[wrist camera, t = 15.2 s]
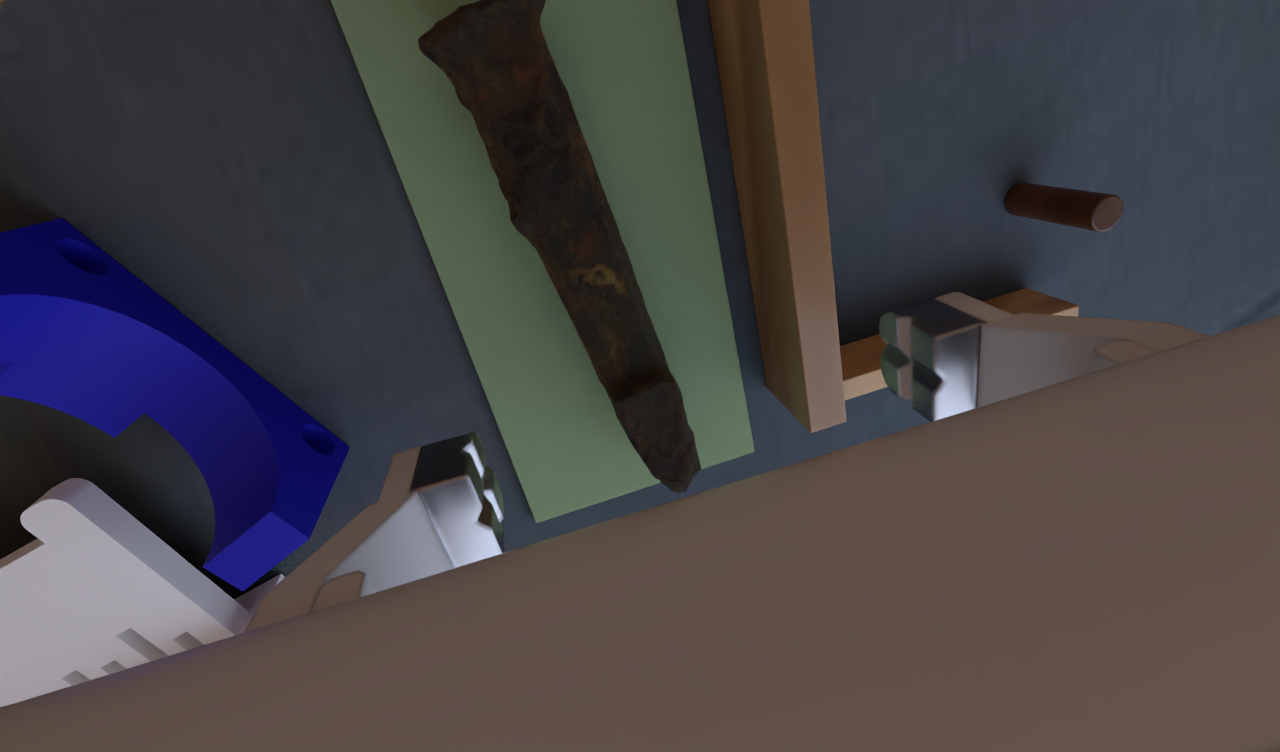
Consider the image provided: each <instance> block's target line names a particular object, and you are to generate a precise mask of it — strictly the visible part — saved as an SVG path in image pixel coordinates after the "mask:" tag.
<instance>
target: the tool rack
mask: <svg viewBox="0 0 1280 752" xmlns="http://www.w3.org/2000/svg"><path fill="white" fill-rule="evenodd" d="M708 6H709V13H710V19H711V26H712V32H713V39H714V45H715V52H716V58H717V65H718V71H719V78H720V84H721V91H722V97H723V104H724V110H725V117H726V123H727V130H728V136H729V143H730V149H731V156H732V162H733V169H734V175H735V182H736V189H737V195H738V202H739V208H740V215H741V221H742V228H743V234H744V241H745V247H746V254H747V260H748V267H749V273H750V280H751V286H752V293H753V299H754V306H755V312H756V319H757V325H758V332H759V338H760V345H761V351H762V358H763V364H764V371H765V377H766V384H767V388H768V389H769V390H770V391H771V392H772V393H773V394H774V395H775V396H776V397H777V398H778V400H779V401H780V402H781V403H782V404H783V405H784V406H785V407H786V408H787V409H788V410H789V411H790V412H791V413H792V414H793V415H794V416H795V417H796V418H797V419H798V420H799V421H800V422H801V423H802V424H803V425H804V426H805V427H806V428H807V429H808V430H809V431H810V432H811V433H813V432H816V431H819V430H822V429H825V428H828V427H832V426H835V425H838V424H841V423H844V422H846V411H845V400H848V399H851V398H854V397H857V396H860V395H863V394H866V393H869V392H872V391H876V390H879V389H882V388H885V387H888V386H887V385H886V383H885V380H884V377H883V375H882V372H881V361H880V356H881V354H882V352H883V350H884V349H885V347H886V345H887V344H886V343H885V342H884V341H883V339H882V338H881V337H880V336H879V334H877V335H874V336H871V337H868V338H865V339H862V340H858V341H855V342H852V343H849V344H846V345H842V346H840V344H839V333H838V321H837V310H836V299H835V288H834V277H833V265H832V254H831V243H830V232H829V221H828V209H827V198H826V187H825V176H824V165H823V153H822V142H821V131H820V120H819V109H818V97H817V86H816V75H815V64H814V53H813V41H812V30H811V19H810V8H809V0H708ZM1005 207H1006V209H1007V211H1008V212H1009V213H1010V214H1013V215H1017V216H1022V217H1027V218H1032V219H1037V220H1042V221H1047V222H1052V223H1057V224H1062V225H1067V226H1072V227H1077V228H1082V229H1087V230H1092V231H1097V232H1103V231H1107V230H1109V229H1111V228H1112V227H1113V226H1114V225H1115V224H1116V223H1117V222H1118V221H1119V219H1120V217H1121V215H1122V212H1123V202H1122V200H1121V199H1120V198H1119V197H1118V196H1116V195H1111V194H1103V193H1096V192H1089V191H1081V190H1074V189H1067V188H1059V187H1052V186H1044V185H1037V184H1030V183H1020V184H1017V185H1015V186H1014V187H1013V188H1012V189H1011V190H1010V191H1009V193H1008V194H1007V197H1006V200H1005ZM983 302H984V303H987V304H989V305H991V306H994V307H996V308H999V309H1001V310H1003V311H1006V312H1008V313H1011V314H1013V315H1016V314H1019V313H1031V314H1046V315H1061V316H1076V317H1078V310H1079V306H1078V305H1076V304H1073V303H1070V302H1067V301H1064V300H1061V299H1058V298H1055V297H1052V296H1049V295H1046V294H1043V293H1040V292H1037V291H1034V290H1031V289H1028V288H1024V289H1021V290H1018V291H1015V292H1011V293H1008V294H1005V295H1002V296H999V297H996V298H992V299H989V300H986V301H983Z"/></svg>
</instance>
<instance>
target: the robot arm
mask: <svg viewBox="0 0 1280 752" xmlns="http://www.w3.org/2000/svg"><path fill="white" fill-rule="evenodd" d="M879 336H880V337H881V338H882V339H883V341H884V342H885V343H886V344H887V345H886V347H885V349H884V350H883V352H882V354H881V356H880V361H881V372H882V375H883V377H884V380H885V383H886V385H887V386H888V387H889V389H890V390H891V391H892V392H893V393H894V394H895V395H896V396H898V397H899V398H902V399H906V400H911V401H913V409H914V410H916V411H917V412H918V413H920V414H921V415H922V416H924V417H925V418H926V419H928V420H929V421H930V422H929V423H926V424H923V425H920V426H916V427H913V428H910V429H907V430H903V431H900V432H897V433H894V434H890V435H887V436H884V437H881V438H877V439H874V440H871V441H868V442H864V443H861V444H858V445H855V446H851V447H848V448H845V449H842V450H838V451H835V452H832V453H828V454H825V455H822V456H819V457H815V458H812V459H809V460H806V461H802V462H799V463H796V464H793V465H789V466H786V467H783V468H779V469H776V470H773V471H770V472H766V473H763V474H760V475H757V476H753V477H750V478H747V479H744V480H740V481H737V482H734V483H731V484H727V485H724V486H721V487H717V488H714V489H711V490H708V491H704V492H701V493H698V494H695V495H691V496H688V497H685V498H682V499H678V500H675V501H672V502H668V503H665V504H662V505H659V506H655V507H652V508H649V509H646V510H642V511H639V512H636V513H633V514H629V515H626V516H623V517H619V518H616V519H613V520H610V521H606V522H603V523H600V524H597V525H593V526H590V527H587V528H584V529H580V530H577V531H574V532H570V533H567V534H564V535H561V536H557V537H554V538H551V539H548V540H544V541H541V542H538V543H535V544H531V545H528V546H525V547H521V548H518V549H515V550H512V551H508V552H505V553H503V550H504V532H503V530H502V527H501V525H500V522H501V521H502V519H503V518H504V505H503V499H502V493H501V490H500V487H499V483H498V480H497V478H496V475H495V473H494V470H492V469H490V468H489V467H487V466H485V460H486V450H485V448H484V446H483V443H482V441H481V439H480V436H479V435H478V434H477V433H476V432H472V433H468V434H465V435H461V436H457V437H453V438H450V439H446V440H442V441H439V442H435V443H431V444H428V445H424V446H418V447H415V448H412V449H409V450H406V451H403V452H400V453H397V454H394V455H393V457H392V460H391V463H390V466H389V469H388V472H387V475H386V478H385V481H384V484H383V487H382V490H381V493H380V496H379V499H378V502H377V503H375V504H371V505H369V506H368V507H366V508H365V509H364V510H363V511H362V512H361V513H359V514H358V515H357V516H356V517H355V518H354V519H352V520H351V521H350V522H349V523H348V524H347V525H345V526H344V527H343V528H342V529H341V530H340V531H339V532H337V533H336V534H335V535H334V536H333V537H332V538H330V539H329V540H328V541H327V542H326V543H325V544H323V545H322V546H321V547H320V548H319V549H318V550H316V551H315V552H314V553H313V554H312V555H311V556H309V557H308V558H307V559H306V560H305V561H304V562H302V563H301V564H300V565H299V566H298V567H297V568H296V569H294V570H293V571H292V572H291V573H290V574H289V575H287V576H286V577H285V578H284V579H283V580H282V581H280V582H279V583H278V584H277V585H276V586H275V587H273V588H272V589H271V590H270V591H269V592H268V593H266V594H265V595H264V596H263V597H262V598H261V600H260V602H259V604H258V606H257V608H256V610H255V612H254V614H253V616H252V618H251V620H250V622H249V624H248V625H247V627H246V629H245V631H244V633H242V634H239V635H235V636H232V637H229V638H226V639H222V640H219V641H216V642H213V643H209V644H206V645H203V646H200V647H196V648H193V649H190V650H187V651H183V652H180V653H177V654H174V655H170V656H167V657H164V658H160V659H157V660H154V661H151V662H147V663H144V664H141V665H138V666H134V667H131V668H128V669H125V670H121V671H118V672H115V673H112V674H108V675H105V676H102V677H99V678H95V679H92V680H89V681H86V682H82V683H79V684H76V685H73V686H69V687H66V688H63V689H59V690H56V691H53V692H50V693H46V694H43V695H40V696H37V697H33V698H30V699H27V700H24V701H20V702H17V703H14V704H10V705H6V706H3V707H0V752H1280V315H1277V316H1274V317H1271V318H1268V319H1264V320H1261V321H1258V322H1255V323H1251V324H1248V325H1245V326H1242V327H1238V328H1235V329H1232V330H1229V331H1225V332H1222V333H1219V334H1216V335H1212V336H1209V335H1206V334H1203V333H1200V332H1197V331H1194V330H1191V329H1188V328H1185V327H1182V326H1179V325H1176V324H1173V323H1166V322H1151V321H1136V320H1121V319H1106V318H1091V317H1076V316H1061V315H1046V314H1031V313H1019V314H1016V315H1013V314H1011V313H1008V312H1006V311H1003V310H1001V309H999V308H996V307H994V306H991V305H989V304H987V303H984V302H982V301H980V300H977V299H975V298H972V297H970V296H968V295H965V294H963V293H960V292H951V293H948V294H945V295H942V296H939V297H936V298H932V299H928V300H925V301H922V302H919V303H916V304H913V305H909V306H906V307H903V308H900V309H897V310H893V311H890V312H888V313H886V314H884V315H882V316H881V319H880V323H879Z"/></svg>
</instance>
